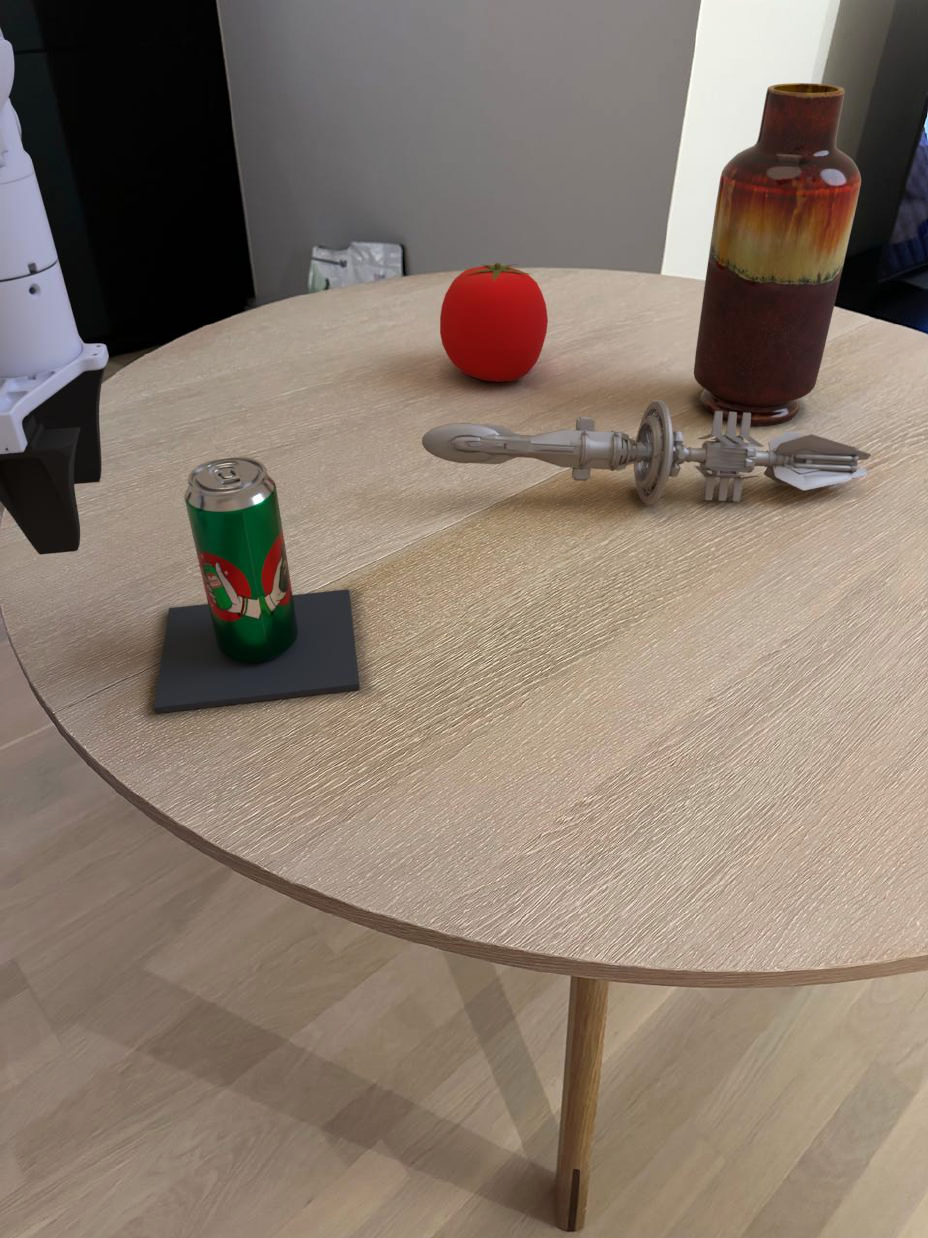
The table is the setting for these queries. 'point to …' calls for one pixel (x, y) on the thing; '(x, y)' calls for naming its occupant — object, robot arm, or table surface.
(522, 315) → the tomato
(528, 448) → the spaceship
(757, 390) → the vase
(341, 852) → the table surface
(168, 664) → the mat
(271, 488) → the soda can
